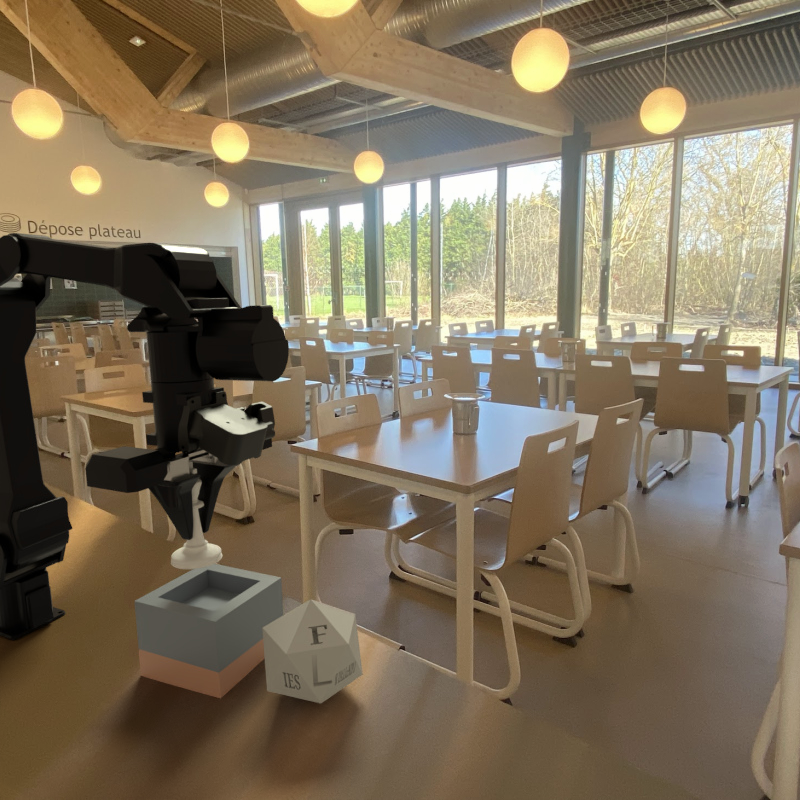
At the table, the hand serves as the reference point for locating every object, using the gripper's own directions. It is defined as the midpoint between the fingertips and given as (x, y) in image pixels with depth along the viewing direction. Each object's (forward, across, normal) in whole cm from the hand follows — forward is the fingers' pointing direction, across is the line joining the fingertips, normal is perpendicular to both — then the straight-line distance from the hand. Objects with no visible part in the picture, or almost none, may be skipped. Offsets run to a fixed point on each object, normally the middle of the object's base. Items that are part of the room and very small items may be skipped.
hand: (195, 535), depth 64 cm
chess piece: (+3, 0, 0) cm, 3 cm away
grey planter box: (+14, 0, -1) cm, 14 cm away
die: (+14, -1, -14) cm, 20 cm away
